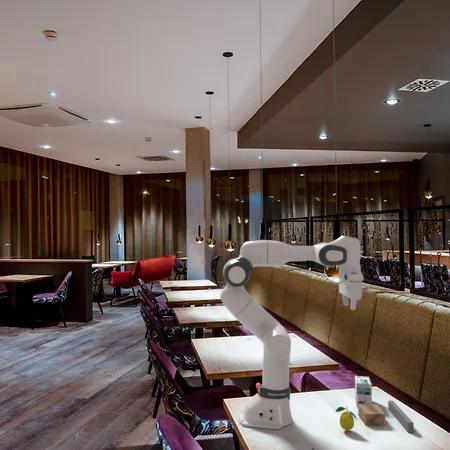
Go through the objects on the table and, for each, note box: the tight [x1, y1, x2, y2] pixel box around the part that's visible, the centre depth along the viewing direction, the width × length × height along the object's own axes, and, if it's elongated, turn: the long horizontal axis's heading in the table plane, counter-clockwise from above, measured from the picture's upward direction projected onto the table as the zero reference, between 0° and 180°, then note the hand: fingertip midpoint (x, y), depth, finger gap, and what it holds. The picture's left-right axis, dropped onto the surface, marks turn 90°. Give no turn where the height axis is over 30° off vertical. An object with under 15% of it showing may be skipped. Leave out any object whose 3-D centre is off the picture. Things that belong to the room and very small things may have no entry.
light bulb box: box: [354, 375, 373, 408], centre depth 203 cm, size 11×7×11 cm, turn 168°
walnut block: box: [357, 403, 386, 427], centre depth 185 cm, size 8×10×5 cm
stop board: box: [387, 400, 414, 434], centre depth 185 cm, size 2×22×4 cm, turn 179°
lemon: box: [334, 406, 358, 432], centre depth 176 cm, size 7×6×10 cm
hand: (349, 307), depth 186 cm, fingers open, 8 cm apart
